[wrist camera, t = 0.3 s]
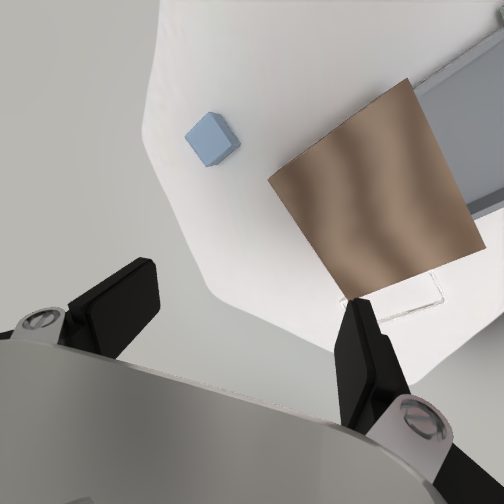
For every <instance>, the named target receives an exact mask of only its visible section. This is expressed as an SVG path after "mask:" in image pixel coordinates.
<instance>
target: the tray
mask: <svg viewBox="0 0 504 504" xmlns="http://www.w3.org/2000/svg"><path fill="white" fill-rule="evenodd" d="M500 11H501V14H502V17H503V20H504V6H502V7H501V8H500ZM413 91H414V93H415V95H416V97H417V99H418V101H419V104H420V106H421V108H422V110H423V112H424V114H425V117H426V119H427V121H428V123H429V125H430V127H431V130H432V132H433V134H434V136H435V138H436V140H437V143H438V145H439V147H440V149H441V151H442V153H443V156H444V158H445V160H446V162H447V164H448V166H449V168H450V171H451V173H452V175H453V177H454V179H455V181H456V184H457V186H458V188H459V190H460V192H461V194H462V197H463V199H464V201H465V203H466V205H467V207H468V210H469V212H470V214H471V216H472V218H473V220H476V219H478V218H480V217H483V216H485V215H487V214H489V213H492V212H494V211H496V210H499V209H501V208H503V207H504V26H502V27H501V28H499V29H498V30H497V31H495V32H494V33H492V34H491V35H489V36H488V37H487V38H485V39H484V40H482V41H481V42H480V43H478V44H477V45H475V46H474V47H472V48H471V49H470V50H468V51H467V52H465V53H464V54H462V55H461V56H460V57H458V58H457V59H455V60H454V61H453V62H451V63H450V64H448V65H447V66H445V67H444V68H443V69H441V70H440V71H438V72H437V73H435V74H434V75H433V76H431V77H430V78H428V79H427V80H425V81H424V82H423V83H421V84H420V85H418V86H417V87H416V88H414V89H413Z"/></svg>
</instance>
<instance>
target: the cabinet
mask: <svg viewBox="0 0 504 504" xmlns="http://www.w3.org/2000/svg"><path fill="white" fill-rule="evenodd" d="M268 181H269V183H270V184H271V186H272V187H273V189H274V190H275V192H276V193H277V195H278V196H279V198H280V199H281V201H282V202H283V204H284V205H285V207H286V208H287V210H288V211H289V213H290V214H291V216H292V217H293V219H294V220H295V222H296V223H297V225H298V226H299V228H300V229H301V231H302V232H303V234H304V235H305V237H306V238H307V240H308V241H309V243H310V244H311V246H312V247H313V249H314V250H315V252H316V253H317V255H318V256H319V258H320V259H321V261H322V262H323V264H324V265H325V267H326V268H327V270H328V271H329V273H330V274H331V276H332V277H333V279H334V280H335V282H336V283H337V285H338V286H339V288H340V289H341V291H342V292H343V294H344V295H345V297H346V298H347V300H348V301H349V300H353V299H354V298H355V297H356V298H359V297H362V296H364V295H367V294H369V293H372V292H375V291H377V290H380V289H382V288H385V287H387V286H390V285H393V284H395V283H398V282H400V281H403V280H405V279H408V278H411V277H413V276H416V275H418V274H421V273H424V272H426V271H429V270H431V269H434V268H436V267H439V266H442V265H444V264H447V263H449V262H452V261H454V260H457V259H460V258H462V257H465V256H467V255H470V254H473V253H475V252H478V251H480V250H483V249H485V248H486V246H485V244H484V242H483V240H482V238H481V236H480V233H479V231H478V229H477V227H476V225H475V223H474V220H473V218H472V216H471V214H470V212H469V210H468V207H467V205H466V203H465V201H464V199H463V197H462V194H461V192H460V190H459V188H458V186H457V184H456V181H455V179H454V177H453V175H452V173H451V171H450V168H449V166H448V164H447V162H446V160H445V158H444V156H443V153H442V151H441V149H440V147H439V145H438V143H437V140H436V138H435V136H434V134H433V132H432V130H431V127H430V125H429V123H428V121H427V119H426V117H425V114H424V112H423V110H422V108H421V106H420V104H419V101H418V99H417V97H416V95H415V93H414V91H413V88H412V86H411V84H410V82H409V80H408V78H406V79H405V80H403V81H402V82H400V83H399V84H397V85H396V86H394V87H393V88H391V89H390V90H388V91H387V92H385V93H384V94H382V95H381V96H379V97H378V98H377V99H375V100H374V101H373V102H371V103H370V104H368V105H367V106H366V107H364V108H363V109H362V110H360V111H359V112H358V113H356V114H355V115H353V116H352V117H351V118H349V119H348V120H347V121H345V122H344V123H342V124H341V125H340V126H338V127H337V128H336V129H334V130H333V131H332V132H330V133H329V134H327V135H326V136H325V137H323V138H322V139H321V140H319V141H318V142H317V143H315V144H314V145H312V146H311V147H310V148H308V149H307V150H306V151H304V152H303V153H302V154H300V155H299V156H297V157H296V158H295V159H293V160H292V161H291V162H289V163H288V164H287V165H285V166H284V167H282V168H281V169H280V170H278V171H277V172H276V173H275V174H274V175H272V176H271V177H270V178H269V179H268Z"/></svg>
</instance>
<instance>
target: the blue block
mask: <svg viewBox="0 0 504 504" xmlns="http://www.w3.org/2000/svg"><path fill="white" fill-rule="evenodd" d="M185 139H186V140H187V141H188V143H189V144H190V145H191V147H192V148H193V150H194V151H195V152H196V154H197V155H198V157H199V158H200V159H201V161H202V162H203V163H204V165H205V166H206V167H209V166H213V165H217V164H218V163H220V162H221V161H222V160H223V159H224V158H225V157H227V156H228V155H229V154H230V153H231V152H232V151H234V150H235V149H236V148H237V147H238V146H239V145H240V143H239V141H238V140H237V138H236V137H235V135H234V134H233V132H232V131H231V129H230V128H229V126H228V125H227V123H226V122H225V120H224V119H223V117H222V116H221V115H220V114H216V113H213V112H208V113H207V114H206V115H205V116H204V117H203V118H202V119H201V120H200V121H199V122H198V123H197V124H196V125H195V126H194V127H193V128H192V129H191V130H190V131H189V132H188V133H187V134H186V135H185Z"/></svg>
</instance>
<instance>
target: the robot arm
mask: <svg viewBox="0 0 504 504" xmlns="http://www.w3.org/2000/svg"><path fill="white" fill-rule="evenodd" d="M68 307H69V310H68V311H67V312H66V313H65V311H64V310H63V309H62V308H59V307H58V308H57V307H50V308H44V309H40V310H37V311H35V312H32V313H31V314H29V315H27V316H25V317H24V318H23V319H21V320H20V321H19V323H18V324H17V326H16V328H15V330H11V331H7V332H3V333H0V504H504V487H503V486H502V485H501V484H500V483H498V482H497V481H496V480H495V479H494V478H492V477H491V476H490V475H489V474H488V473H487V472H486V471H485V470H483V469H482V468H481V467H480V466H479V465H478V464H477V463H475V462H474V461H473V460H472V459H471V458H470V457H468V456H467V455H466V454H465V453H464V452H463V451H462V450H460V449H459V448H458V447H457V446H456V445H455V444H454V443H453V437H454V436H453V432H452V428H451V426H450V424H449V423H448V421H447V419H446V418H445V417H444V416H443V414H442V413H441V412H440V411H439V410H438V409H436V408H435V407H434V406H433V405H432V404H430V403H429V402H427V401H425V400H424V399H422V398H420V397H417V396H414V395H411V393H410V390H409V387H408V385H407V382H406V380H405V377H404V375H403V372H402V369H401V367H400V364H399V362H398V359H397V357H396V354H395V351H394V349H393V346H392V344H391V341H390V339H389V337H388V336H387V335H384V334H381V331H380V328H379V326H378V323H377V320H376V317H375V314H374V311H373V309H372V306H371V303H370V301H369V300H366V299H361V298H356V297H355V298H354V299H353V300H349V301H348V304H347V307H346V311H345V314H344V317H343V320H342V324H341V327H340V330H339V333H338V337H337V340H336V343H335V348H334V356H335V366H336V375H337V386H338V395H339V406H340V417H341V425H338V424H336V423H333V422H330V421H327V420H325V419H322V418H318V417H315V416H312V415H309V414H305V413H302V412H299V411H295V410H292V409H289V408H285V407H283V406H279V405H276V404H272V403H269V402H265V401H262V400H258V399H255V398H251V397H248V396H244V395H241V394H237V393H234V392H230V391H227V390H223V389H220V388H216V387H213V386H209V385H205V384H202V383H199V382H195V381H191V380H188V379H184V378H181V377H177V376H174V375H170V374H166V373H163V372H159V371H156V370H152V369H148V368H145V367H141V366H137V365H134V364H130V363H127V362H123V361H119V360H116V358H117V357H118V356H119V355H120V354H121V352H122V351H123V350H124V349H125V348H126V347H127V346H128V345H129V344H130V343H131V342H132V340H133V339H134V338H135V337H136V336H137V335H138V334H139V333H140V332H141V331H142V329H143V328H144V327H145V326H146V325H147V324H148V323H149V322H150V321H151V320H152V318H154V316H155V315H156V314H157V313H158V312H159V310H160V297H159V290H158V281H157V272H156V265H155V263H153V261H152V260H151V259H148V258H142V257H139V258H137V259H136V260H134V261H133V262H131V263H130V264H128V265H127V266H125V267H123V268H122V269H121V270H119V271H117V272H116V273H115V274H113V275H111V276H110V277H108V278H107V279H105V280H104V281H102V282H101V283H99V284H98V285H96V286H94V287H93V288H91V289H90V290H88V291H87V292H85V293H84V294H82V295H81V296H79V297H78V298H76V299H75V300H73V301H72V302H70V303H69V304H68Z"/></svg>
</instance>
